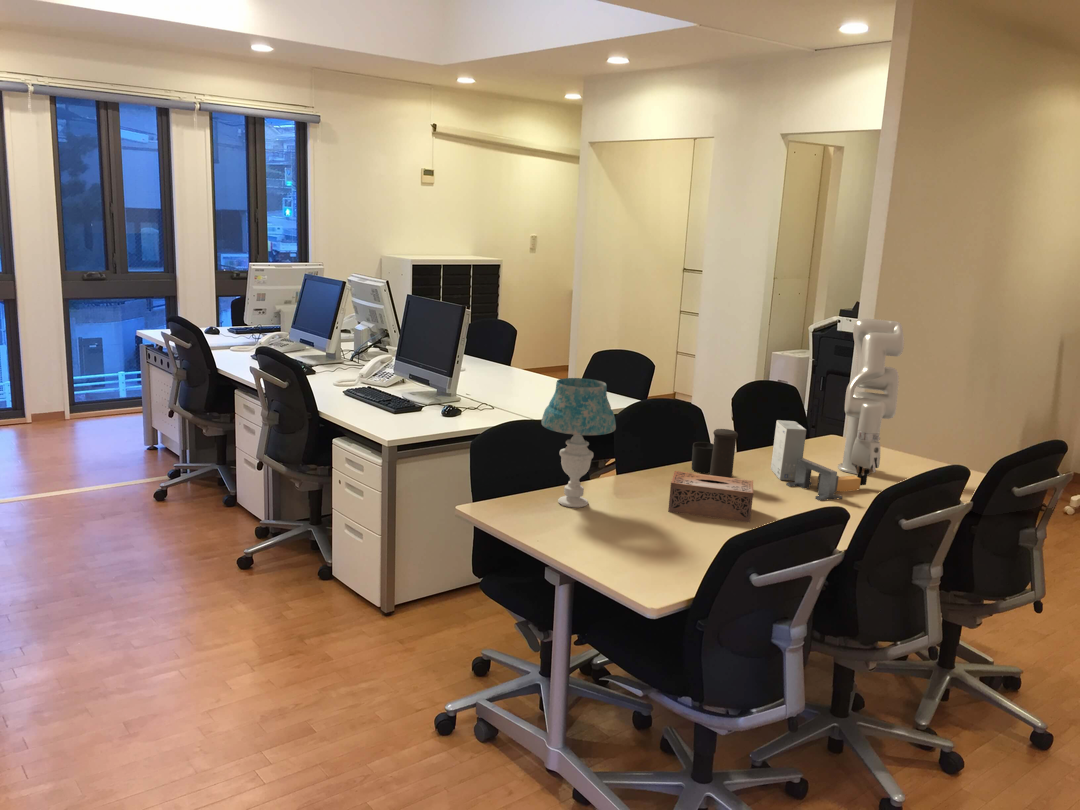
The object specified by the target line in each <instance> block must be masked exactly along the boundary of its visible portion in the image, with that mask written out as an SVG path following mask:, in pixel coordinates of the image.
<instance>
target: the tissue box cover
mask: <svg viewBox="0 0 1080 810" xmlns="http://www.w3.org/2000/svg"><path fill="white" fill-rule="evenodd" d="M669 488H670V490H669V499H668V500H669V501H668V512H669V513H677V514H684V515H691V516H699V517H705V518H706V517H707V518H714V519H721V520H722V519H723V520H728V521H729V520H730V521H737V522H744V523H751V518H752V517H751V515H752V508H753V507H752V505H753V500H754V499H753V498H754V480H752V479H751V480H750V479H743V478H737V477H732V478H728V477H720V476H712V475H710V474H705V473H697V472H686V471H680V470H678V471H677V470H675V471H674V472H673V475H672V478H671V481H670V487H669Z"/></svg>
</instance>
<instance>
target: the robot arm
mask: <svg viewBox="0 0 1080 810" xmlns="http://www.w3.org/2000/svg"><path fill="white" fill-rule="evenodd" d="M852 331H853V333H852V334H853V335H852V336H853V341H854V344H855V345H854V346H855V349H856V363H855V373H854V377H853V378H852V379H851V380H850V381H849V383H848V385H847V386H846V390H845V391H846V392H845V397H844V399H845V400H844V413H845V414H846V416H848V419H847V427H846V428H847V429H846V435H845V443H844V444H845V445H844V450H843V457H842V458H843V459H842V462H841V463H839V464H837V469H839V470H840V471H842V472H846V473H848V474H854V475H857V476H856V477H859V478H861V481H860V486H866V485H867V482H868V481H867V480H868V476H869V475H870V474H872V473H873V474H874V473H876V472H877V471H876V469H879V468H880V462H881V442H880V440H881V437H880V434H881V433H880V432H881V429H882V428H881V427H882V421H883V420H882V419H885V420H886V419H887V420H889V419H890V420H891V419H893V418H894V417H895V415H896V412H897V407H898V395H899V394H898V392H899V382H900V381H899V379H900V378H899V372H898V370H897V369H896V368H895V367H891V366H886V356H888V357H900V356H901V355H902V354H903V352H904V346H905V338H904V336H905V335H904V330H903V325H902V323H900V322H899V321H895V320H886V319H877V318H876V319H875V318H861V319H858V320H857V321H855V322H854V324H853V329H852ZM856 388H858V389H863V390H871V391H872V390H873V391H880V392H883V393H878V392H877V393H876V392H868V391H856V392H855V389H856Z"/></svg>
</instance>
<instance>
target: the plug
mask: <svg viewBox="0 0 1080 810" xmlns="http://www.w3.org/2000/svg"><path fill="white" fill-rule="evenodd" d="M820 475H821V474H820V473H818V478H817V487H816V490H817V489H818V490H819V482H820ZM860 481H861V478H859V477H857V476H856V475H845V476H838V475H837V477H836V484H835V492H834V493H838V492H837V491H840V492H849V491H848V490H853V491H858V490H857V489H859V490H860V487H861V485H860ZM818 490H817V491H818ZM846 490H847V491H846Z"/></svg>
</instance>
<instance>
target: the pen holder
mask: <svg viewBox="0 0 1080 810" xmlns="http://www.w3.org/2000/svg"><path fill="white" fill-rule="evenodd" d="M713 444H714V443H711V442H706V441H697V442H693V444H692V452H691V453H692V455H691V470H692V471H693V470H694V471H693V472H695V471H697V472H696V473H698V472H701V473H700V474H710V468H711V460H712V452H713Z"/></svg>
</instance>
